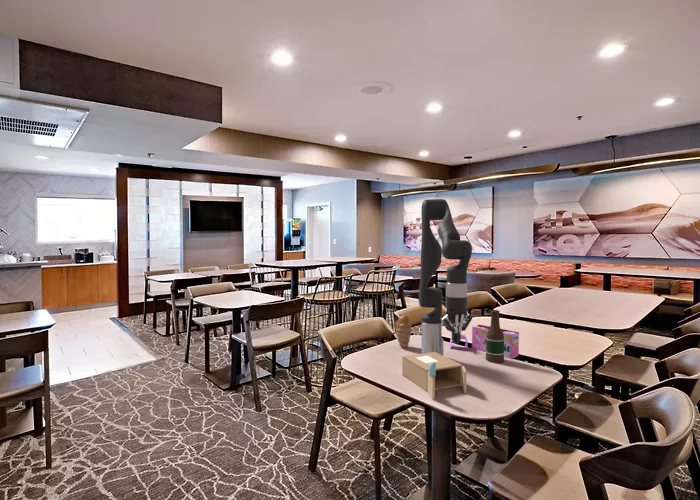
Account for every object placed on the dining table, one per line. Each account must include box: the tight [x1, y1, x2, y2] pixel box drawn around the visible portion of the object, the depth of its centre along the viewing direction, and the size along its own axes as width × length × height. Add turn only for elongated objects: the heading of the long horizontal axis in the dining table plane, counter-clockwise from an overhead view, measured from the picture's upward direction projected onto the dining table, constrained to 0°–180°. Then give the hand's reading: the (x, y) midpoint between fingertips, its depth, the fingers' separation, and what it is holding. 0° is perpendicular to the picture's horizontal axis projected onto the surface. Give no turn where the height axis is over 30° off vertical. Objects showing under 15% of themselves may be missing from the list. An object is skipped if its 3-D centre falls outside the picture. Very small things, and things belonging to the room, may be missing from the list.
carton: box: [401, 352, 463, 393], centre depth 148 cm, size 16×18×8 cm
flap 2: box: [461, 365, 467, 394], centre depth 139 cm, size 6×1×8 cm, turn 171°
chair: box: [449, 333, 469, 350], centre depth 190 cm, size 8×9×15 cm
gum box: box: [471, 324, 520, 360], centre depth 182 cm, size 22×7×13 cm, turn 39°
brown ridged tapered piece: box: [395, 313, 412, 349], centre depth 192 cm, size 9×8×18 cm
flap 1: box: [427, 362, 436, 401], centre depth 133 cm, size 6×2×12 cm, turn 4°
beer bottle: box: [485, 309, 505, 364], centre depth 170 cm, size 8×8×24 cm
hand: (456, 342), depth 135 cm, fingers closed
